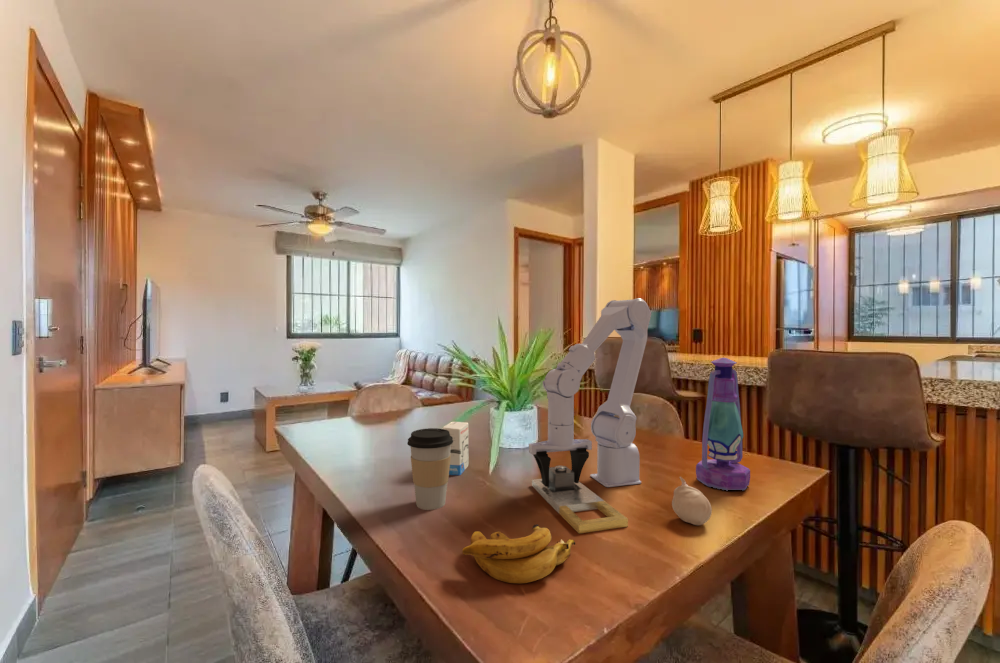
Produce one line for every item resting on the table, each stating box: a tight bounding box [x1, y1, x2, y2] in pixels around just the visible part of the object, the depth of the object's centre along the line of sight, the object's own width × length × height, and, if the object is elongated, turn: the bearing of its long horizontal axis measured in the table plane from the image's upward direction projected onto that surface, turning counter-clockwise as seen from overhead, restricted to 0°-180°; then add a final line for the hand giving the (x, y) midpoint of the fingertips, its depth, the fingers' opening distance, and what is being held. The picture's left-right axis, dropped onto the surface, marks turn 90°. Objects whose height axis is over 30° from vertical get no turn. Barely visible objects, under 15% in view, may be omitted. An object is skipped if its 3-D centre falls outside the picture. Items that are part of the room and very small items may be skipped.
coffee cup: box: [407, 427, 453, 511], centre depth 89 cm, size 9×9×15 cm
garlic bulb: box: [671, 475, 713, 526], centre depth 82 cm, size 7×6×8 cm
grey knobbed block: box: [547, 465, 574, 492], centre depth 97 cm, size 4×4×6 cm
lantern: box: [695, 357, 751, 492], centre depth 102 cm, size 13×12×30 cm
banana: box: [462, 524, 576, 584], centre depth 68 cm, size 15×19×6 cm
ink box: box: [442, 421, 470, 476], centre depth 111 cm, size 9×5×12 cm, turn 168°
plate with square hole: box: [531, 478, 629, 535], centre depth 90 cm, size 10×24×2 cm, turn 16°
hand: (560, 483), depth 97 cm, fingers open, 7 cm apart
